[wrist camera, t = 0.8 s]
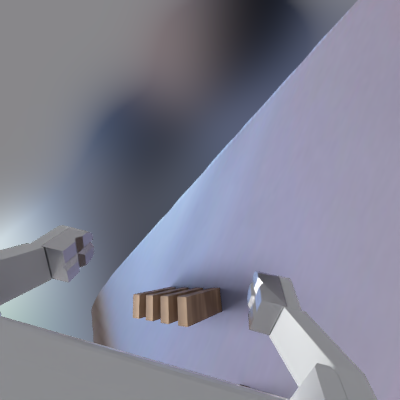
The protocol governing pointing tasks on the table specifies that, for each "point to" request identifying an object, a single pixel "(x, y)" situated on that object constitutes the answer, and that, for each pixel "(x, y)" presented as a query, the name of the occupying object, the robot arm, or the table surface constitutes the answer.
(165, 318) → the domino
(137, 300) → the domino
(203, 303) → the domino
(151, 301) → the domino
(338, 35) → the table surface
